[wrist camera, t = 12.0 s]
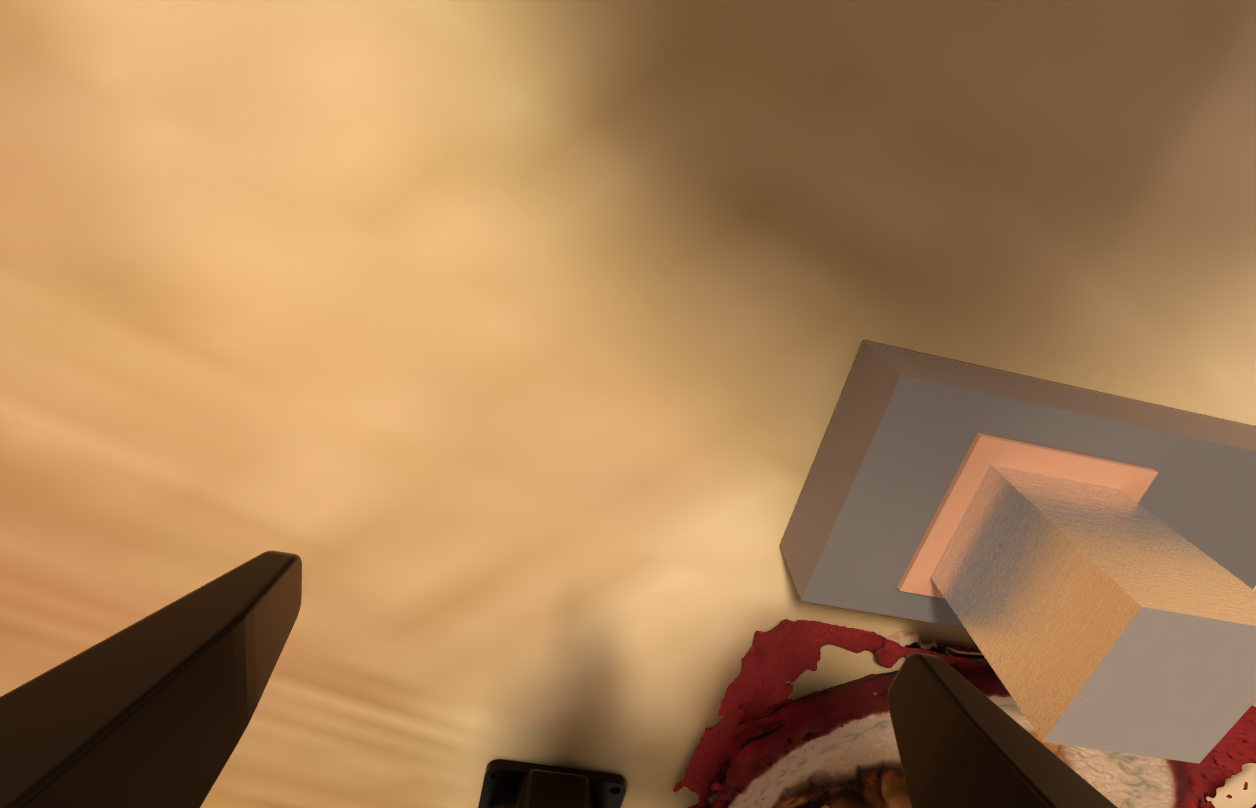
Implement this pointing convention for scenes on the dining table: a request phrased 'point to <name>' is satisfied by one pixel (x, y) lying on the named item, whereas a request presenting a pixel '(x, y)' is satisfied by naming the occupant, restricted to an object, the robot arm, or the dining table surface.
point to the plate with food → (892, 735)
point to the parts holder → (960, 456)
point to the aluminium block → (1101, 617)
